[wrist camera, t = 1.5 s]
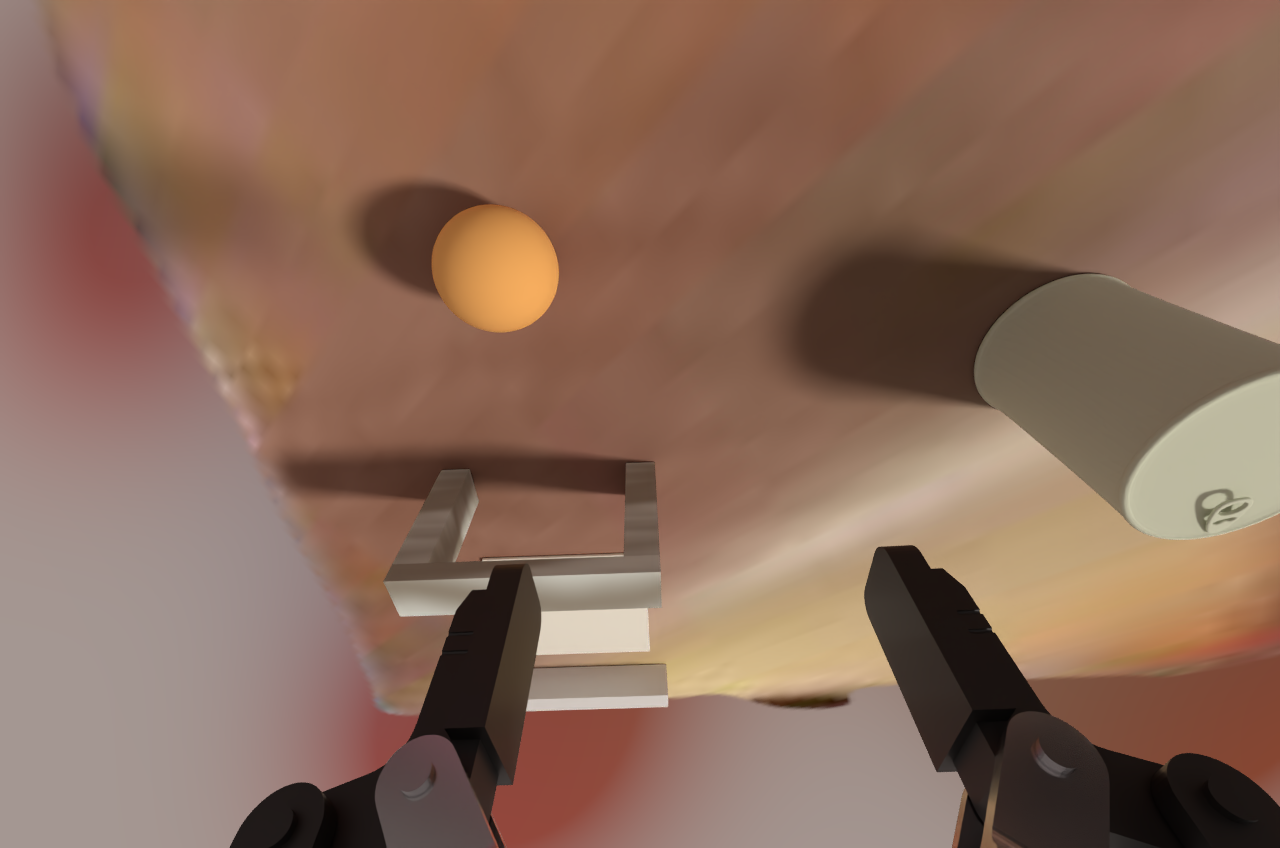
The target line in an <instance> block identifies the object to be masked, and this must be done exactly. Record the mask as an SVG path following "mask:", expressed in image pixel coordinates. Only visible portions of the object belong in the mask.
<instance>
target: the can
mask: <svg viewBox="0 0 1280 848" xmlns="http://www.w3.org/2000/svg"><path fill="white" fill-rule="evenodd" d="M974 380H975V384H976V387H977V390H978V392H979V394H980V395H981V397H982V398H983V399H984V400H985V401H986V402H987V403H988V404H989V405H991V406H992V407H994V408H995V409H997V410H1000V411H1001V412H1002V413H1004V414H1005V415H1006V416H1008V417H1009V418H1010V419H1011V420H1013V421H1014V422H1015V423H1016V424H1017V425H1019V426H1020V427H1021V428H1022V429H1023V430H1025V431H1026V432H1027V433H1028V434H1029V435H1031V436H1032V437H1033V438H1034V439H1035V440H1036V441H1038V442H1039V443H1040V444H1041V445H1042V446H1043V447H1045V448H1046V449H1047V450H1048V451H1049V452H1050V453H1052V454H1053V455H1054V456H1055V457H1056V458H1057V459H1059V460H1060V461H1061V462H1062V463H1063V464H1064V465H1066V466H1067V467H1068V468H1069V469H1070V470H1071V471H1073V472H1074V473H1075V474H1076V475H1077V476H1078V477H1079V478H1081V479H1082V480H1083V481H1084V482H1085V483H1086V484H1087V485H1089V486H1090V487H1091V488H1092V489H1093V490H1094V491H1095V492H1096V493H1098V494H1099V495H1100V496H1101V497H1102V498H1103V499H1104V500H1106V501H1107V502H1108V503H1109V504H1110V505H1111V506H1112V507H1113V508H1114V509H1115V510H1117V511H1118V512H1119V513H1120V514H1121V515H1122V516H1123V517H1124V518H1125V520H1126V521H1127V522H1128V523H1129V524H1130V525H1131V526H1132V527H1134V528H1135V529H1137V530H1139V531H1140V532H1142V533H1144V534H1147V535H1150V536H1153V537H1157V538H1162V539H1170V540H1190V539H1200V538H1206V537H1212V536H1217V535H1221V534H1225V533H1229V532H1233V531H1236V530H1239V529H1242V528H1245V527H1248V526H1251V525H1253V524H1256V523H1259V522H1261V521H1263V520H1266V519H1268V518H1270V517H1273V516H1275V515H1277V514H1279V513H1280V344H1277V343H1275V342H1272V341H1269V340H1266V339H1264V338H1261V337H1258V336H1256V335H1253V334H1250V333H1247V332H1245V331H1242V330H1239V329H1237V328H1234V327H1231V326H1229V325H1226V324H1224V323H1221V322H1218V321H1216V320H1213V319H1211V318H1208V317H1205V316H1203V315H1200V314H1198V313H1195V312H1192V311H1190V310H1187V309H1185V308H1182V307H1179V306H1177V305H1174V304H1171V303H1169V302H1166V301H1164V300H1161V299H1159V298H1156V297H1154V296H1151V295H1149V294H1146V293H1144V292H1141V291H1139V290H1137V289H1134V288H1132V287H1130V286H1129V285H1128V284H1126V283H1125V282H1123V281H1121V280H1119V279H1117V278H1114V277H1112V276H1107V275H1103V274H1079V275H1073V276H1068V277H1064V278H1061V279H1058V280H1055V281H1052V282H1050V283H1048V284H1045V285H1043V286H1041V287H1039V288H1037V289H1035V290H1033V291H1032V292H1030V293H1028V294H1027V295H1025V296H1024V297H1022V298H1021V299H1020V300H1018V301H1017V302H1016V303H1014V304H1013V305H1012V306H1011V307H1010V308H1008V309H1007V310H1006V311H1005V312H1004V313H1003V314H1002V315H1001V316H1000V317H999V318H998V319H997V321H996V322H995V323H994V324H993V325H992V327H991V328H990V330H989V331H988V333H987V334H986V336H985V337H984V339H983V341H982V343H981V345H980V347H979V350H978V352H977V355H976V359H975V364H974Z"/></svg>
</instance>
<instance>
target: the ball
mask: <svg viewBox="0 0 1280 848" xmlns="http://www.w3.org/2000/svg"><path fill="white" fill-rule="evenodd" d="M432 274H433V279H434V283H435V286H436V288H437V290H438V293H439V295H440V296H441V298H442V300H443V301H444V303H445V304H446V305H447V307H448V308H449V309H450V310H451V311H452V312H453V313H454V314H455V315H456V316H457V317H459V318H460V319H461V320H463V321H464V322H466V323H467V324H469V325H471V326H473V327H476V328H478V329H482V330H485V331H490V332H511V331H515V330H519V329H522V328H524V327H526V326H528V325H530V324H532V323H533V322H535V321H536V320H537V319H539V318H540V317H541V316H542V315H543V314H544V313H545V311H546V310H547V309H548V307H549V306H550V304H551V302H552V301H553V299H554V296H555V293H556V290H557V285H558V279H559V268H558V261H557V257H556V253H555V250H554V248H553V246H552V243H551V241H550V240H549V238H548V236H547V235H546V233H545V232H544V231H543V230H542V228H541V227H540V226H539V225H538V224H537V223H536V222H535V221H533V220H532V219H531V218H530V217H528V216H527V215H525V214H523V213H522V212H520V211H517V210H515V209H513V208H510V207H506V206H501V205H491V204H486V205H478V206H474V207H471V208H468V209H466V210H464V211H461V212H460V213H458V214H457V215H455V216H454V217H453V218H452V219H451V220H449V221H448V222H447V223H446V225H445V226H444V227H443V228H442V230H441V231H440V233H439V235H438V237H437V239H436V242H435V245H434V248H433V252H432Z"/></svg>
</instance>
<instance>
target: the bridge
mask: <svg viewBox="0 0 1280 848" xmlns="http://www.w3.org/2000/svg"><path fill="white" fill-rule="evenodd" d="M478 502H479V500H478V497H477V493H476V490H475V486H474V483H473V479H472V476H471V472H470V469H457V470H441V472H440V474H439V476H438V477H437V479H436V481H435V483H434V485H433V487H432V489H431V491H430V493H429V495H428V497H427V499H426V501H425V502H424V504H423V506H422V508H421V510H420V512H419V514H418V516H417V518H416V520H415V522H414V524H413V526H412V528H411V529H410V531H409V533H408V535H407V537H406V539H405V541H404V543H403V545H402V547H401V549H400V551H399V553H398V554H397V556H396V558H395V560H394V562H393V564H392V566H391V568H390V570H389V572H388V574H387V576H386V578H385V579H384V581H383V582H384V584H385V586H386V588H387V590H388V592H389V594H390V596H391V599H392V601H393V603H394V605H395V607H396V609H397V611H398V613H399V615H400V616H429V615H455V612H456V610H457V608H458V607H459V606H460V605H461V603H462V602H463V601H464V600H465V598H466V597H467V596H468V594H469V593H470V592H471V591H472V590H483V589H487V585H488V582H489V579H490V576H491V572H492V570H493V568H494V566H496V565H506V564H526V563H527V564H528V565H529V566H530V569H531V573H532V576H533V580H534V583H535V587H536V590H537V594H538V597H539V601H540V605H541V612H548V611H577V610H607V609H637V608H662V605H661V570H660V552H659V534H658V515H657V497H656V479H655V462H641V463H626V484H625V526H624V556H614V557H586V558H557V559H529V560H501V561H472V562H456V559H457V556H458V554H459V551H460V549H461V546H462V543H463V541H464V538H465V536H466V533H467V531H468V528H469V525H470V523H471V520H472V518H473V515H474V512H475V510H476V507H477V505H478Z"/></svg>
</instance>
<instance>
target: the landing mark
mask: <svg viewBox="0 0 1280 848" xmlns="http://www.w3.org/2000/svg"><path fill="white" fill-rule="evenodd" d="M614 556H624V553H615V554H587V555H559V556H531V557H502V558H482V561H501V560H529V559H557V558H586V557H614ZM642 651H650V643H649V623H648V608H637V609H607V610H577V611H548V612H541V630H540V636H539V641H538V647H537V652H536V655H550V654H580V653H611V652H642Z"/></svg>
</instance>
